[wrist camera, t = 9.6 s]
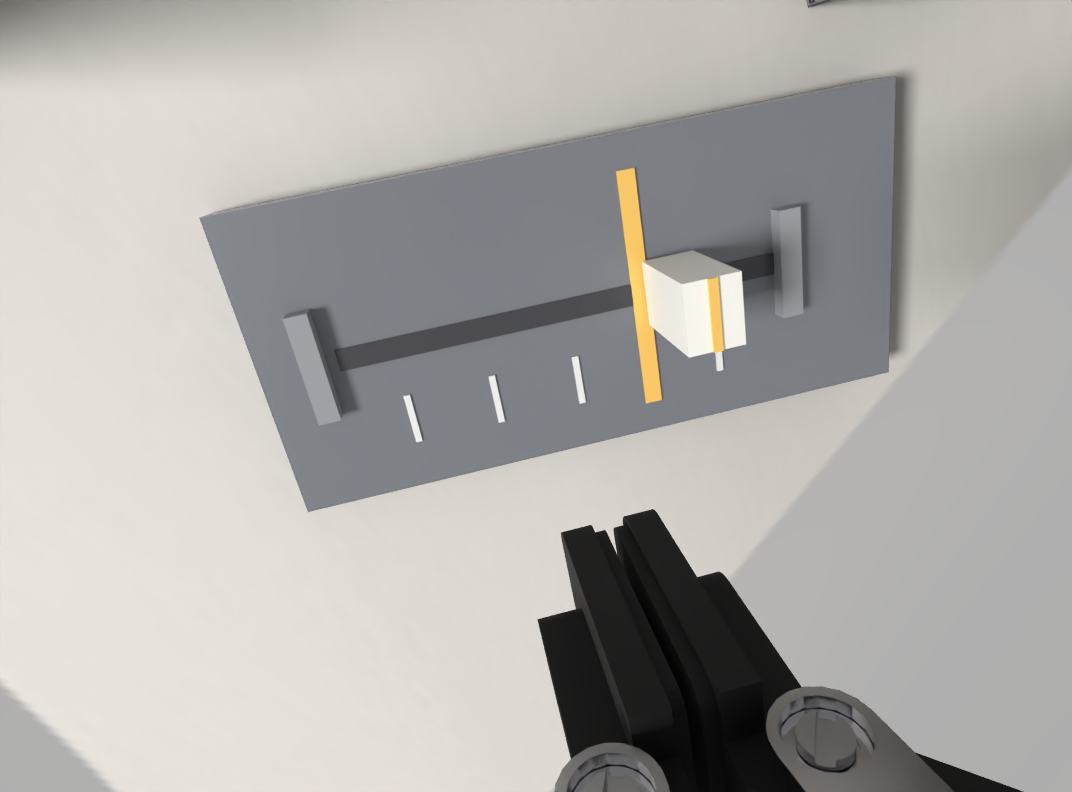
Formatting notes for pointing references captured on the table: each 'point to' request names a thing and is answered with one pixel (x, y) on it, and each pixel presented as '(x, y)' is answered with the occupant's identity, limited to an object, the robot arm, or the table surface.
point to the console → (561, 289)
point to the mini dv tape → (815, 2)
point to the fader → (695, 302)
